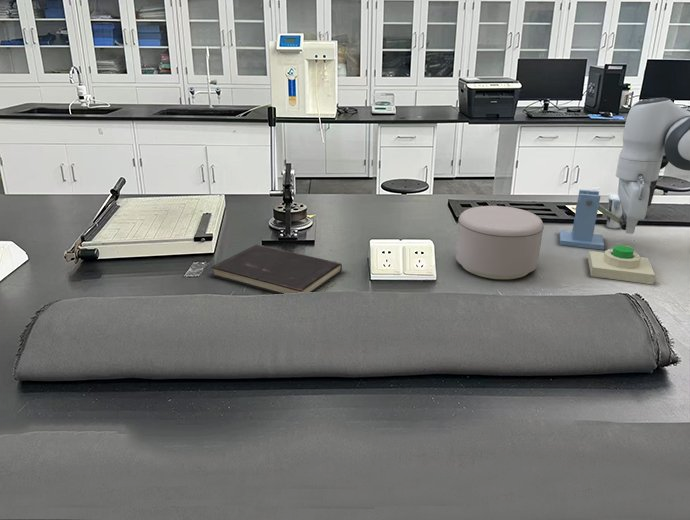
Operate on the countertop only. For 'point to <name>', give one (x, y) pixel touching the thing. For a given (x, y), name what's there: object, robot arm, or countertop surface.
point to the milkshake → (614, 211)
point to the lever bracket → (584, 223)
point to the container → (498, 241)
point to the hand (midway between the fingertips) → (626, 226)
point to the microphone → (653, 183)
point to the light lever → (612, 216)
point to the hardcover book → (277, 270)
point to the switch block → (620, 267)
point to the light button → (623, 252)
